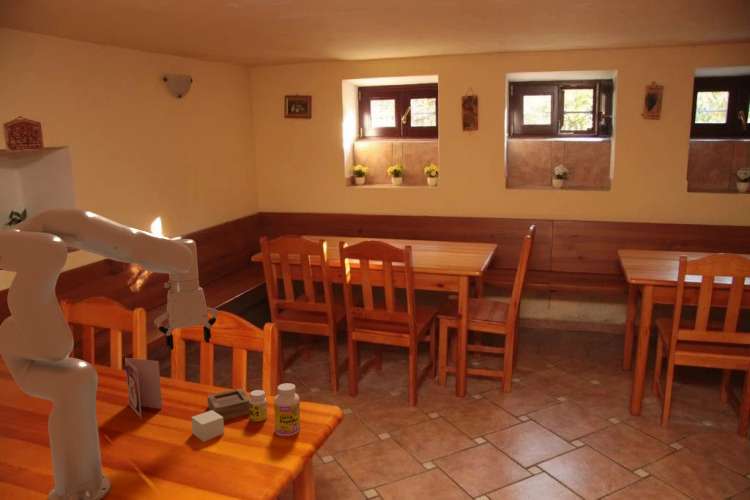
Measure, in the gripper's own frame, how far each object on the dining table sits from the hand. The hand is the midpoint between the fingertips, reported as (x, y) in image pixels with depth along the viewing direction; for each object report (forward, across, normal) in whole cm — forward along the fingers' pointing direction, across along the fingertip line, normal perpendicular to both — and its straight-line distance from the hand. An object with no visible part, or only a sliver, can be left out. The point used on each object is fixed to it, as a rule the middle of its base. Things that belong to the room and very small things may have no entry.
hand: (189, 344), depth 164 cm
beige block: (+21, 0, -13) cm, 25 cm away
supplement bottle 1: (+22, +15, -12) cm, 29 cm away
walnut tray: (+22, +9, -3) cm, 24 cm away
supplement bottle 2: (+22, +19, -22) cm, 37 cm away
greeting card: (+22, -11, +12) cm, 27 cm away
